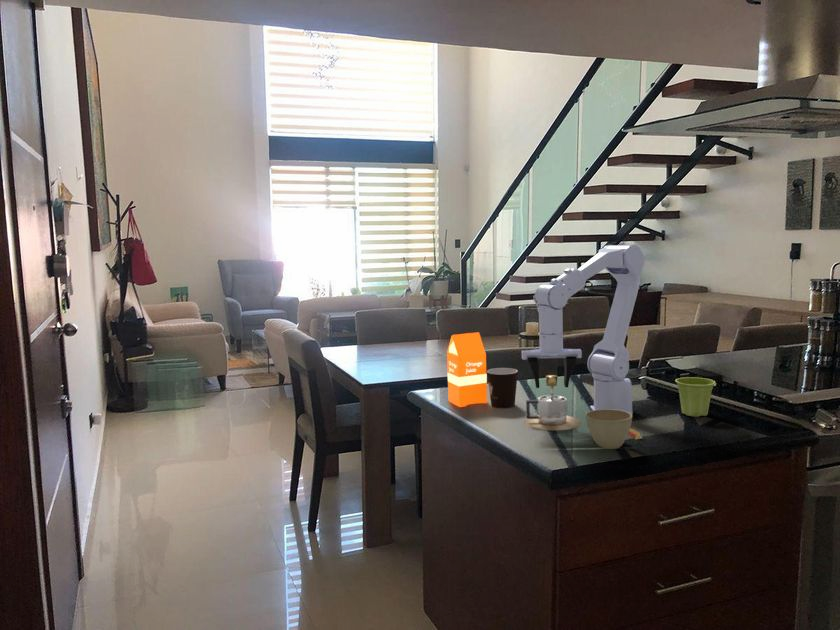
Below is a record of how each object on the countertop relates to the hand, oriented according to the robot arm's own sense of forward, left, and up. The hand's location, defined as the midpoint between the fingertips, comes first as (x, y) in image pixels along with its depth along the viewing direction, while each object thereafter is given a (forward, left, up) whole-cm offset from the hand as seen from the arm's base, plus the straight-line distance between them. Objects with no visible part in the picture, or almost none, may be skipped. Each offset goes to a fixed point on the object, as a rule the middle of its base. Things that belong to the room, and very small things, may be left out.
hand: (551, 386), depth 164 cm
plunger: (0, 0, -4) cm, 4 cm away
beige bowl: (-10, +18, -10) cm, 23 cm away
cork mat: (0, 0, -9) cm, 9 cm away
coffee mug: (+11, -19, -10) cm, 24 cm away
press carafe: (+1, 0, -9) cm, 9 cm away
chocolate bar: (-16, +9, -10) cm, 21 cm away
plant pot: (-37, -6, -10) cm, 39 cm away
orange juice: (+21, -23, -10) cm, 33 cm away
